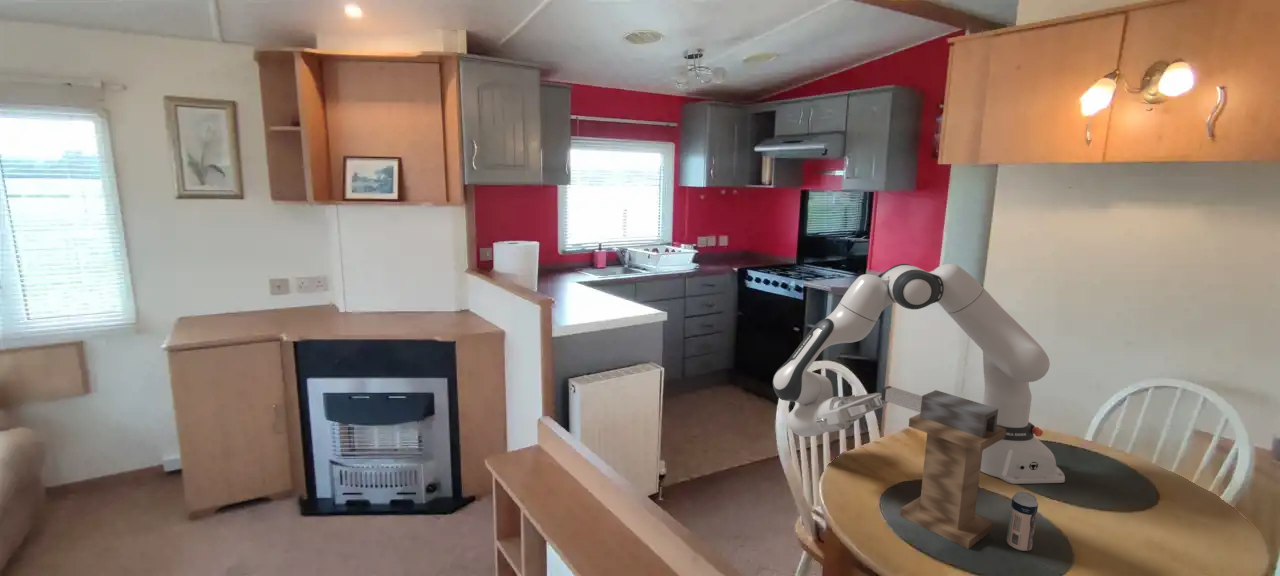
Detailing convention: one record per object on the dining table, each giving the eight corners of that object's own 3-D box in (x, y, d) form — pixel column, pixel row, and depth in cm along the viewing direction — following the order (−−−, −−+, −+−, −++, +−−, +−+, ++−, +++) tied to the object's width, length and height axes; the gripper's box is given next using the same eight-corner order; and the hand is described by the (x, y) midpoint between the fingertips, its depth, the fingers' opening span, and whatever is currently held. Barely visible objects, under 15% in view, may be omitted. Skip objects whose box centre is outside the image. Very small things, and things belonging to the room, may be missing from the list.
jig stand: (900, 515, 144) (911, 397, 139) (926, 499, 151) (938, 386, 146) (968, 548, 132) (983, 420, 126) (993, 529, 139) (1009, 407, 133)
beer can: (1035, 554, 130) (1042, 503, 128) (1011, 551, 131) (1018, 501, 129) (1026, 540, 135) (1033, 492, 132) (1002, 538, 136) (1009, 489, 133)
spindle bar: (881, 399, 150) (882, 388, 149) (888, 397, 152) (889, 385, 151) (971, 430, 133) (973, 417, 132) (978, 426, 134) (979, 414, 134)
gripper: (807, 411, 158) (848, 400, 147) (854, 394, 170) (895, 382, 159) (816, 435, 157) (858, 425, 146) (862, 416, 169) (904, 405, 158)
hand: (877, 403), depth 153 cm, fingers open, 8 cm apart
